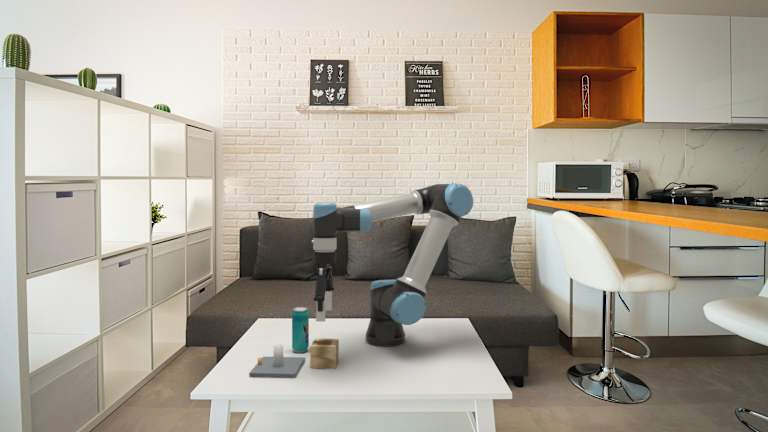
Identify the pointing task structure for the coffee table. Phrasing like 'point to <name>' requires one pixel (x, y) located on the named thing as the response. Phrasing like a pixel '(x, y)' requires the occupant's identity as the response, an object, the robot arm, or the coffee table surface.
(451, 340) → the coffee table surface
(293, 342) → the beverage can
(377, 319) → the robot arm
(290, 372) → the post base
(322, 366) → the wooden square frame
